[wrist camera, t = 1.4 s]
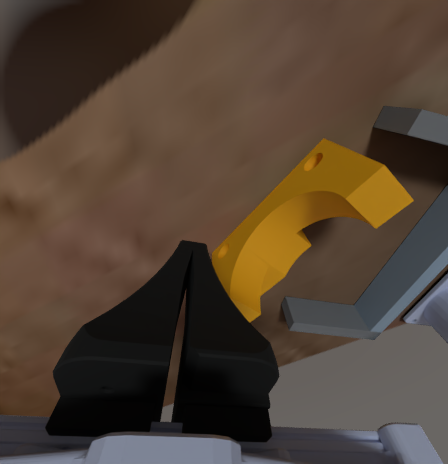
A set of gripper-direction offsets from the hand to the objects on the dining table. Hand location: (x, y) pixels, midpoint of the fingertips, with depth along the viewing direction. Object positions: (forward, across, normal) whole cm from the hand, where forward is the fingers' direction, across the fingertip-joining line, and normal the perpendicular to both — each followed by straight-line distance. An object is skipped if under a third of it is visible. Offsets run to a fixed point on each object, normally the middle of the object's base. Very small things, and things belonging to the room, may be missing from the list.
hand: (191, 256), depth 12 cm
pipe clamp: (+6, -6, 0) cm, 9 cm away
